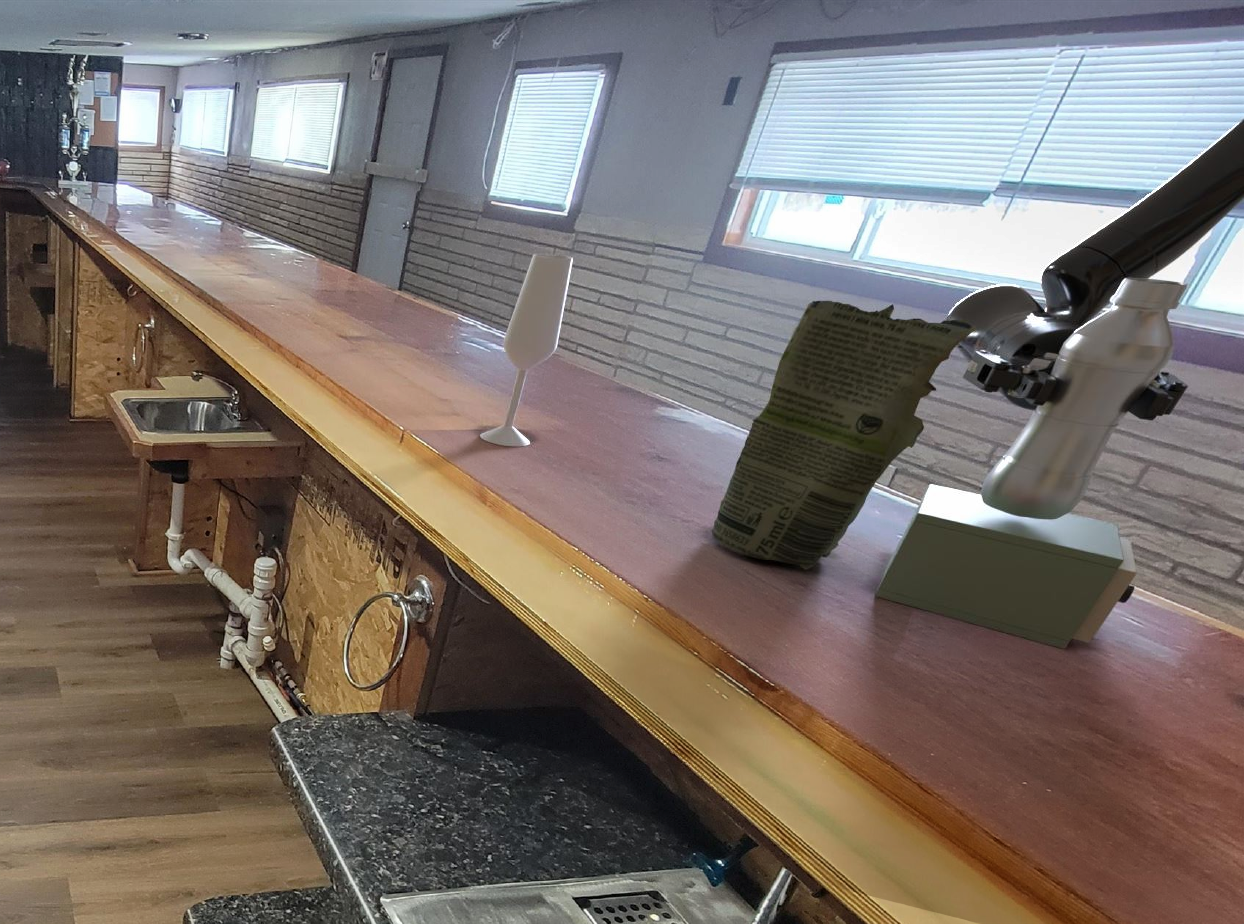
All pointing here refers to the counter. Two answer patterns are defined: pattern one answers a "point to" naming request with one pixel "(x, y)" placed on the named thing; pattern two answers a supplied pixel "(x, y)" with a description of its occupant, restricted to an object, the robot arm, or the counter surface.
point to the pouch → (830, 429)
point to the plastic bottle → (1086, 402)
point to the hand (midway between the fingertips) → (1098, 400)
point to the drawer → (1110, 594)
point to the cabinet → (1002, 566)
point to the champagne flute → (533, 331)
